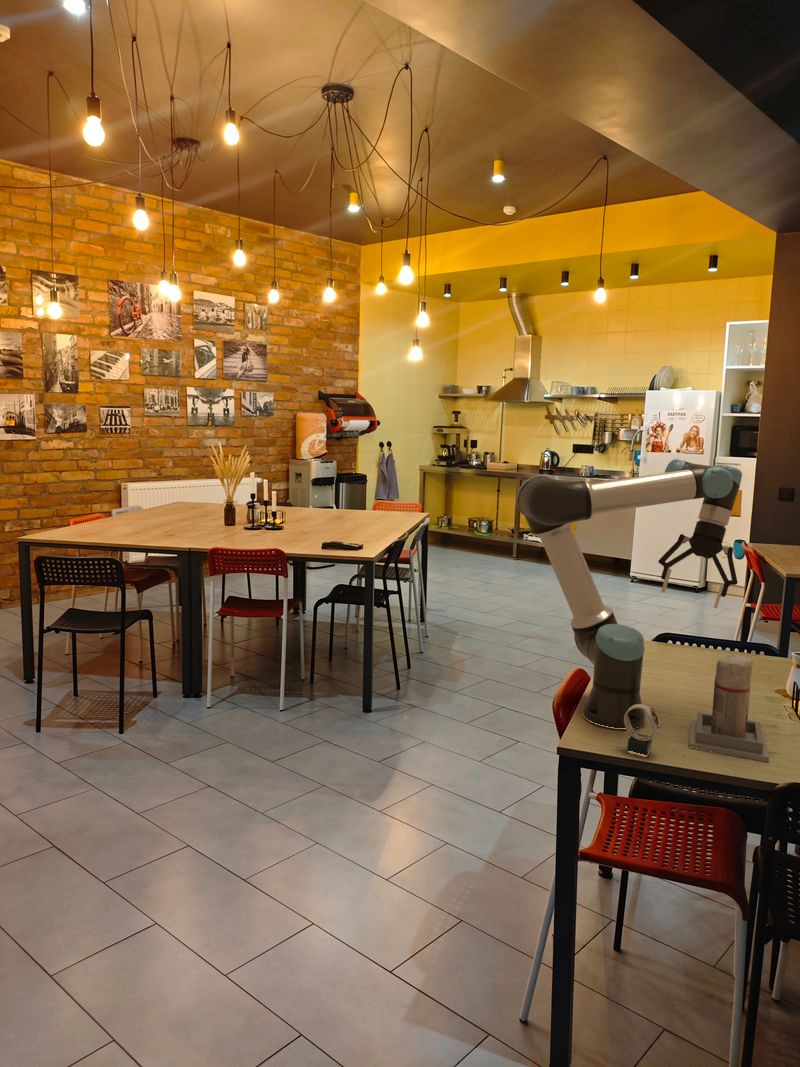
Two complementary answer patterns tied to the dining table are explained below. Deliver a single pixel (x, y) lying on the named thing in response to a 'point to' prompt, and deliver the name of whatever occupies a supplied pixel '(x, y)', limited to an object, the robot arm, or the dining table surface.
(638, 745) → the watch
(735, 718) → the beige textured cylinder
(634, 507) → the robot arm
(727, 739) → the holder dock
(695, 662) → the dining table surface
